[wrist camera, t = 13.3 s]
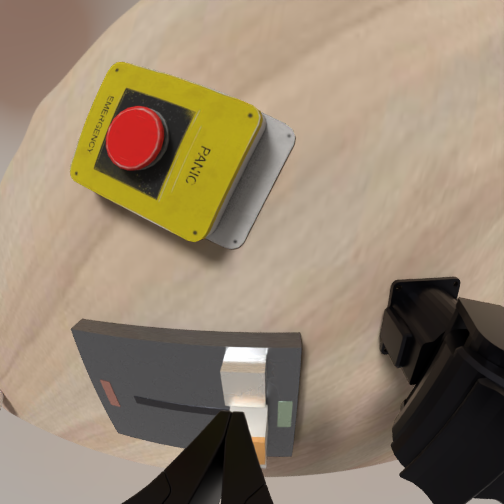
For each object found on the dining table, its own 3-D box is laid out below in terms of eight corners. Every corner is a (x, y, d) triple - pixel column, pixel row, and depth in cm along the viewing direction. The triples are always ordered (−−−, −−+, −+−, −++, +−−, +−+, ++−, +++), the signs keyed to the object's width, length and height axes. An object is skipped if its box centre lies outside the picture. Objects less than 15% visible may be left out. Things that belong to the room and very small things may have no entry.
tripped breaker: (267, 404, 21) (264, 442, 17) (268, 429, 22) (265, 464, 18) (231, 403, 21) (223, 439, 17) (234, 428, 22) (228, 462, 18)
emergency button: (90, 49, 12) (306, 122, 13) (121, 65, 17) (300, 132, 17) (42, 174, 15) (228, 274, 16) (78, 170, 19) (238, 251, 20)
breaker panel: (300, 332, 21) (303, 365, 17) (291, 442, 25) (291, 471, 21) (82, 318, 23) (58, 339, 19) (124, 422, 27) (111, 444, 23)
